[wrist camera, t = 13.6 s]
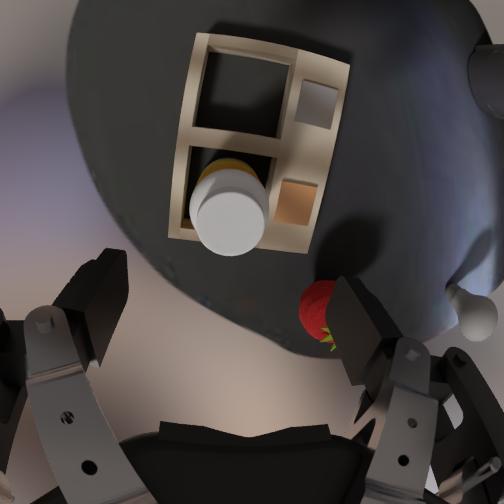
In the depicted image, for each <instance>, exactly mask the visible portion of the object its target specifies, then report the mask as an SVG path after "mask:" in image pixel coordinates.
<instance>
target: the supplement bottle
mask: <svg viewBox="0 0 504 504" xmlns="http://www.w3.org/2000/svg"><path fill="white" fill-rule="evenodd" d="M189 211H190V218H191V221H192V224H193V226H194V228H195V230H196V231H197V234H198V236H199V238H200V240H201V242H202V243H203V244H204V245H205V246H206V247H207V248H208V249H210V250H211V251H213V252H215V253H217V254H220V255H225V256H235V255H240V254H243V253H246V252H248V251H249V250H251V249H252V248H253V247H255V246H256V245H257V244H258V242H259V241H260V239H261V238H262V236H263V233H264V229H265V225H266V223H267V220H268V216H269V200H268V196H267V194H266V191H265V189H264V187H263V185H262V184H261V182H260V180H259V179H258V177H257V175H256V173H255V172H254V170H253V169H252V168H251V167H250V166H249V165H248V164H247V163H245V162H244V161H242V160H239V159H236V158H221V159H218V160H216V161H214V162H212V163H210V164H209V165H208V166H207V167H206V168H205V169H204V170H203V172H202V173H201V175H200V177H199V180H198V182H197V185H196V187H195V189H194V191H193V194H192V197H191V200H190V207H189Z"/></svg>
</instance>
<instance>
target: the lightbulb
mask: <svg viewBox="0 0 504 504" xmlns="http://www.w3.org/2000/svg"><path fill="white" fill-rule="evenodd" d="M445 296H446V297H447V298H448V300H449V301H450V302H451V305H452V307H453V308H454V309H455V311H456V313H457V315H458V320H459V325H460V329H461V332H462V334H463V335H464V336H465V337H466V338H467V339H469V340H471V341H482V340H484V339H486V338H488V337H489V336H490V335H491V334H492V332H493V331H494V329H495V327H496V324H497V320H498V313H497V308H496V306H495V304H494V303H493V301H492V300H491V299H489V298H487V297H485V296H480V295H474V294H471V293H469V292H468V291H467V290H465V289H462V288H461V287H460V286H458V285H457V284H456V283H451V284H450V285H448V286H447V288H446V291H445Z"/></svg>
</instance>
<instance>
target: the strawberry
mask: <svg viewBox="0 0 504 504" xmlns="http://www.w3.org/2000/svg"><path fill="white" fill-rule="evenodd" d="M335 284H336V281H333V280H320V281H316V282H314V283H312V284H311V285H310V286H309V287H308V288H307V289H306V290H305V291H304V292H303V294H302V295H301V298H300V306H299V318H300V321H301V323H302V325H303V326H304V327H305V329H306V330H307V332H308V333H309V334H310V335H311V336H313V337H314V338H316V339H318V340H321V341H320V342H329V343H334V341H333V338H332V336H331V334H330V331H329V329H328V327H327V324H326V321H325V311H326V307H327V305H328V302H329V300H330V297H331V294H332V292H333V289H334V287H335ZM320 342H319V343H320ZM334 348H336V345H335V343H334V345H333V347H332V349H331V350H330V351H332V350H333V349H334Z"/></svg>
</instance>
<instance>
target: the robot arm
mask: <svg viewBox="0 0 504 504" xmlns="http://www.w3.org/2000/svg"><path fill="white" fill-rule="evenodd" d="M468 75H469V81H470V86H471V89H472V92H473V95H474V97H475V100H476V101H477V103H478V105H479V106H480V108H481V109H482V110H483V111H484V112H485V113H486V114H487V115H489V116H492V117H497V118H501V119H504V44H493V45H477V46H476V50H475V52H474V53H473V54H472V55H471V57H470V59H469V63H468ZM128 293H129V284H128V270H127V254H126V251H124V250H119V249H111V248H106V249H104V251H103V252H102V253H101V254H100V256H99V257H98V258H97V259H96V260H93V259H92V260H90V261H88V262H87V263H85V264H84V265H82V266H81V267H80V268H79V269H78V270H77V272H76V273H75V276H73V277H72V278H71V279H70V282H69V283H67V285H66V286H65V287H64V289H63V290H62V291H61V293H60V294H59V295H58V297H57V298H56V300H55V301H54V302H53V304H52V305H47V306H41V307H38V308H36V309H34V310H32V311H31V312H30V313H29V314H28V315H27V316H26V318H25V320H9V321H8V320H6V318H5V316H4V313H3V311H2V310H1V308H0V504H12V503H13V502H14V500H15V496H14V493H13V491H12V490H11V487H10V484H9V482H8V479H7V478H6V476H5V473H6V469H7V464H8V459H9V455H10V451H11V447H12V443H13V439H14V436H15V433H16V429H17V426H18V423H19V420H20V417H21V414H22V411H23V408H24V405H25V402H26V399H27V397H28V396H29V400H30V405H31V409H32V413H33V416H34V420H35V423H36V426H37V430H38V433H39V436H40V439H41V442H42V445H43V448H44V451H45V454H46V456H47V459H48V461H49V464H50V466H51V469H52V471H53V473H54V476H55V478H56V480H57V483H58V485H59V486H57V487H56V488H54V489H53V490H51V491H49V492H48V493H46V494H45V495H43V496H42V497H40V498H39V499H37V500H35V501H34V502H32V503H30V504H504V412H503V410H502V408H501V407H500V405H499V403H498V401H497V399H496V398H495V396H494V394H493V393H492V391H491V389H490V388H489V386H488V384H487V383H486V381H485V379H484V378H483V376H482V375H481V373H480V371H479V370H478V368H477V367H476V365H475V364H474V362H473V361H472V359H471V358H470V356H469V355H468V354H467V353H466V352H465V351H463V350H461V349H459V348H457V347H450V348H448V350H447V351H446V352H445V354H444V355H443V356H442V357H438V356H432V355H430V353H429V351H428V349H427V348H426V347H425V346H424V345H423V344H422V343H421V342H420V341H418V340H416V339H414V338H410V337H404V336H403V335H402V333H401V332H400V330H399V329H398V327H397V326H396V324H395V323H394V321H393V320H392V318H391V317H390V316H389V315H388V313H387V311H386V310H385V309H383V305H382V304H381V302H380V301H379V300H378V298H377V297H375V296H374V295H373V294H372V293H370V292H369V291H368V290H367V288H366V287H365V286H364V284H363V283H362V281H361V280H360V279H359V278H357V277H347V276H340V277H339V278H338V279H337V281H336V284H335V287H334V289H333V292H332V294H331V297H330V300H329V302H328V305H327V307H326V311H325V321H326V324H327V327H328V329H329V331H330V334H331V336H332V338H333V341H334V343H335V345H336V348H337V350H338V353H339V355H340V358H341V360H342V362H343V365H344V367H345V370H346V372H347V375H348V377H349V380H350V382H351V384H352V386H354V385H365V387H366V388H365V390H364V391H363V392H362V394H361V397H360V399H359V402H358V405H357V407H356V410H355V412H354V414H353V417H352V419H351V421H350V424H349V426H348V428H347V430H346V432H345V434H344V435H343V437H342V436H337V435H331V434H330V430H329V427H328V424H324V425H313V426H301V427H290V428H286V429H283V430H279V431H275V432H271V433H268V434H264V435H260V436H255V437H243V436H238V435H234V434H230V433H226V432H222V431H219V430H215V429H212V428H208V427H204V426H197V425H187V424H178V423H170V422H163V421H160V427H159V432H150V433H143V434H139V435H136V436H132V437H130V438H128V439H125V440H123V441H121V442H118V441H117V439H116V437H115V436H114V433H113V432H112V430H111V428H110V426H109V424H108V422H107V420H106V418H105V416H104V414H103V412H102V410H101V408H100V406H99V404H98V402H97V399H96V397H95V395H94V393H93V390H92V388H91V386H90V383H89V381H88V379H87V376H86V374H85V373H86V371H87V368H88V365H90V366H94V367H98V368H100V366H101V363H102V360H103V358H104V355H105V352H106V350H107V347H108V345H109V343H110V340H111V338H112V335H113V333H114V330H115V328H116V326H117V323H118V321H119V318H120V316H121V314H122V312H123V309H124V307H125V305H126V302H127V299H128ZM452 394H454V396H455V398H456V399H457V401H458V403H459V405H460V407H461V409H462V411H463V421H462V423H461V424H460V425H459V426H458V427H457V428H456V429H454V427H453V425H452V422H451V420H450V418H449V416H448V414H447V412H446V410H445V408H444V406H443V404H444V403H445V402H446V401H447V400H448V399H449V398H450V397H451V396H452ZM430 465H431V468H432V471H433V474H434V477H435V480H436V483H437V486H438V489H439V492H437V493H436V494H433V493H432V492H430V491H429V490H427V489H425V484H426V479H427V475H428V471H429V466H430Z"/></svg>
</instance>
